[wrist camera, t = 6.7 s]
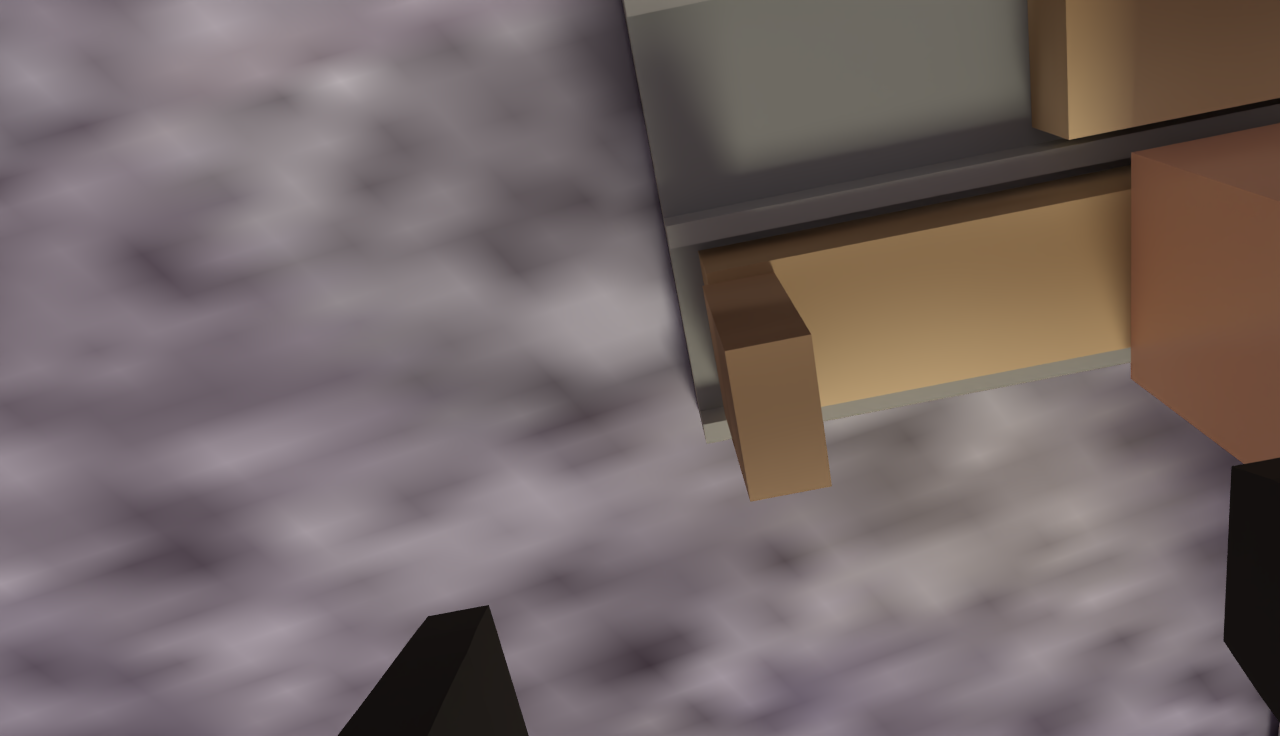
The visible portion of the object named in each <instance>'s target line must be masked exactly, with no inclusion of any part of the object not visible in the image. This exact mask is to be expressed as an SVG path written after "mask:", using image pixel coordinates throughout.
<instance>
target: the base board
mask: <svg viewBox="0 0 1280 736" xmlns="http://www.w3.org/2000/svg"><path fill="white" fill-rule="evenodd" d="M622 3H623V8H624V13H625V19H626V24H627V29H628V35H629V40H630V45H631V51H632V56H633V61H634V67H635V72H636V77H637V83H638V88H639V93H640V99H641V104H642V109H643V115H644V120H645V125H646V131H647V136H648V141H649V147H650V152H651V157H652V163H653V168H654V173H655V179H656V184H657V189H658V195H659V200H660V205H661V211H662V216H663V221H664V227H665V232H666V237H667V243H668V248H669V253H670V259H671V264H672V269H673V275H674V280H675V285H676V291H677V296H678V301H679V307H680V312H681V317H682V323H683V328H684V333H685V339H686V344H687V349H688V355H689V360H690V365H691V371H692V376H693V381H694V387H695V392H696V397H697V403H698V408H699V413H700V417H701V422H702V426H703V430H704V435H705V439H706V443H707V444H709V443H714V442H719V441H724V440H729V439H732V437H731V433H730V430H729V427H728V423H727V420H726V416H725V412H724V406H723V400H722V395H721V389H720V383H719V378H718V372H717V366H716V361H715V355H714V349H713V344H712V338H711V332H710V327H709V321H708V315H707V310H706V304H705V298H704V292H703V287H702V286H704V282H703V276H702V271H701V265H700V259H699V254H698V251H700V250H705V249H710V248H715V247H720V246H725V245H730V244H735V243H740V242H745V241H750V240H755V239H760V238H766V237H771V236H776V235H781V234H786V233H791V232H796V231H801V230H806V229H811V228H816V227H821V226H826V225H831V224H836V223H841V222H846V221H851V220H856V219H861V218H866V217H871V216H876V215H881V214H886V213H891V212H896V211H901V210H906V209H911V208H916V207H921V206H926V205H931V204H937V203H942V202H947V201H952V200H957V199H962V198H967V197H972V196H977V195H982V194H987V193H992V192H997V191H1002V190H1007V189H1012V188H1017V187H1022V186H1027V185H1032V184H1037V183H1042V182H1047V181H1052V180H1057V179H1062V178H1067V177H1072V176H1077V175H1082V174H1087V173H1092V172H1097V171H1102V170H1108V169H1113V168H1118V167H1123V166H1128V165H1131V152H1136V151H1142V150H1147V149H1152V148H1157V147H1162V146H1167V145H1172V144H1177V143H1182V142H1187V141H1192V140H1197V139H1202V138H1207V137H1212V136H1217V135H1222V134H1227V133H1232V132H1237V131H1242V130H1247V129H1252V128H1257V127H1262V126H1267V125H1272V124H1277V123H1280V98H1276V99H1271V100H1266V101H1261V102H1256V103H1251V104H1246V105H1241V106H1236V107H1231V108H1226V109H1221V110H1216V111H1211V112H1206V113H1201V114H1196V115H1191V116H1186V117H1181V118H1176V119H1171V120H1166V121H1161V122H1156V123H1151V124H1146V125H1141V126H1136V127H1131V128H1126V129H1121V130H1116V131H1111V132H1106V133H1101V134H1096V135H1091V136H1086V137H1081V138H1076V139H1071V140H1068V139H1065V138H1062V137H1059V136H1056V135H1053V134H1050V133H1047V132H1045V131H1042V130H1039V129H1036V128H1033V127H1032V113H1031V86H1030V58H1029V31H1028V4H1027V0H622ZM1125 363H1131V347H1130V348H1125V349H1120V350H1115V351H1109V352H1104V353H1099V354H1094V355H1089V356H1083V357H1078V358H1073V359H1068V360H1063V361H1057V362H1052V363H1047V364H1042V365H1037V366H1031V367H1026V368H1021V369H1016V370H1011V371H1005V372H1000V373H995V374H990V375H985V376H979V377H974V378H969V379H964V380H959V381H953V382H948V383H943V384H938V385H933V386H928V387H922V388H917V389H912V390H907V391H902V392H896V393H891V394H886V395H881V396H876V397H870V398H865V399H860V400H855V401H850V402H844V403H839V404H834V405H829V406H824V407H821V410H822V417H823V421H828V420H834V419H839V418H844V417H849V416H854V415H860V414H865V413H870V412H875V411H880V410H886V409H891V408H896V407H901V406H907V405H912V404H917V403H922V402H927V401H933V400H938V399H943V398H948V397H953V396H959V395H964V394H969V393H974V392H979V391H985V390H990V389H995V388H1000V387H1006V386H1011V385H1016V384H1021V383H1026V382H1032V381H1037V380H1042V379H1047V378H1052V377H1058V376H1063V375H1068V374H1073V373H1078V372H1084V371H1089V370H1094V369H1099V368H1105V367H1110V366H1115V365H1120V364H1125Z"/></svg>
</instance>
